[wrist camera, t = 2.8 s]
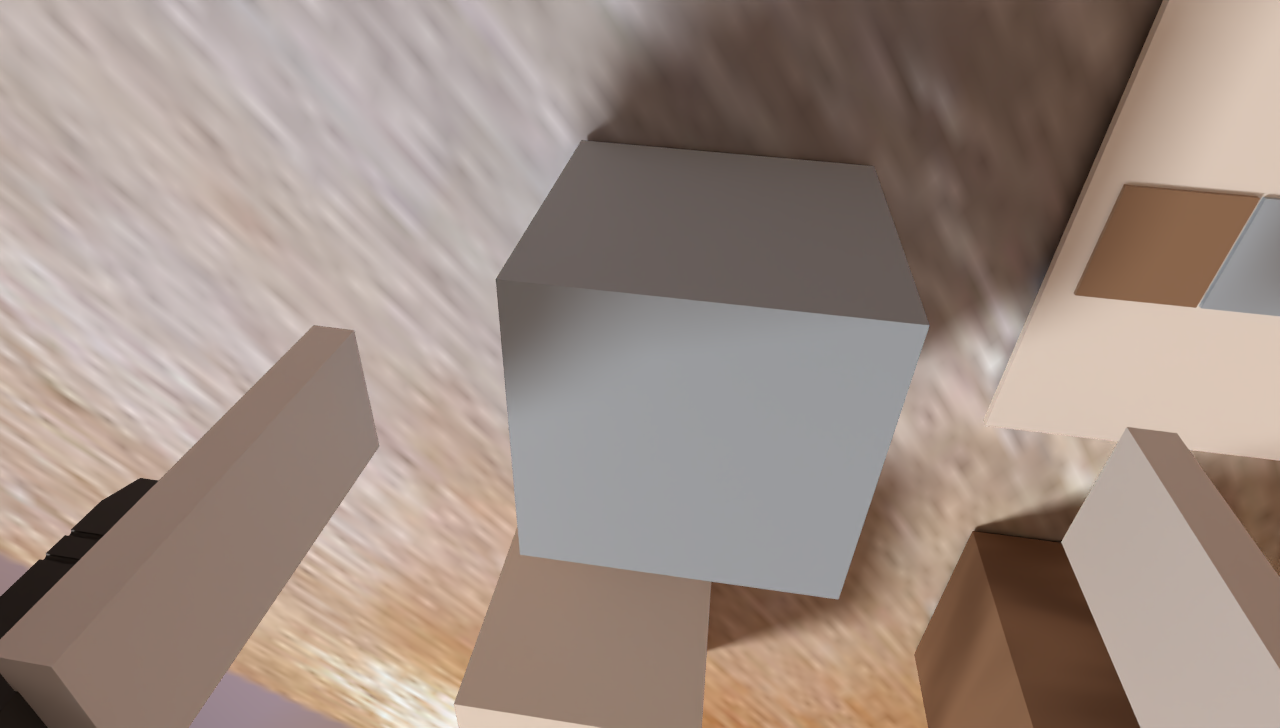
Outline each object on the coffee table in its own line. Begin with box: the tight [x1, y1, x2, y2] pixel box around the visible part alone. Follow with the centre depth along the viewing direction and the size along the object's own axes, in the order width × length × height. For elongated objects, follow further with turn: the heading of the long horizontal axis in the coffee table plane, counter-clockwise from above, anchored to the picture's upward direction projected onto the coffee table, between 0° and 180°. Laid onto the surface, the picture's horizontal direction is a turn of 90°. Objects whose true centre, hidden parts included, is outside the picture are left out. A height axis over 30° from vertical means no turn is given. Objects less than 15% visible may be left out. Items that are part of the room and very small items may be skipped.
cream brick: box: [454, 526, 711, 728], centre depth 21 cm, size 6×6×6 cm
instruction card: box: [983, 0, 1280, 461], centre depth 14 cm, size 8×10×1 cm
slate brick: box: [496, 140, 930, 600], centre depth 14 cm, size 6×6×6 cm
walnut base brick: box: [915, 531, 1140, 728], centre depth 19 cm, size 6×6×6 cm
